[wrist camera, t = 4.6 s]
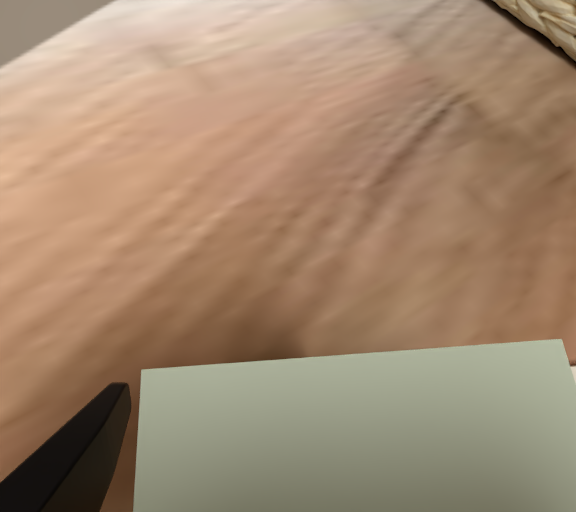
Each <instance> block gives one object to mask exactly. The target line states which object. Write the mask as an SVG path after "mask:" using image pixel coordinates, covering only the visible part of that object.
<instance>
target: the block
mask: <svg viewBox="0 0 576 512" xmlns="http://www.w3.org/2000/svg"><path fill="white" fill-rule="evenodd" d="M133 512H576V383H575V380H574V377H573V374H572V370H571V367H570V364H569V361H568V358H567V355H566V351H565V348H564V345H563V342H562V339H554V340H540V341H527V342H513V343H499V344H485V345H472V346H458V347H444V348H431V349H417V350H403V351H389V352H376V353H362V354H348V355H335V356H321V357H307V358H294V359H280V360H266V361H252V362H239V363H225V364H211V365H198V366H184V367H170V368H156V369H143V370H142V371H141V388H140V404H139V421H138V438H137V455H136V472H135V488H134V505H133Z"/></svg>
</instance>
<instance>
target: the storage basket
mask: <svg viewBox="0 0 576 512" xmlns="http://www.w3.org/2000/svg"><path fill="white" fill-rule="evenodd" d="M492 1H494V2H496V3H497V4H498V5H499V6H500V7H501V8H502V9H506V10H508V11H509V12H510V13H511V14H512V15H514V16H515V17H516V18H518V19H519V20H520V21H521V22H523V23H524V24H525V25H527V26H529V27H531V28H533V29H536V30H537V31H539V32H540V33H542V34H543V35H545V36H546V37H547V38H549V39H550V40H551V42H552V43H553V44H554V45H555V46H556V47H559V46H560V47H562V48H563V50H564V51H565V52H566V54H567V55H569V56H570V57H571V58H572V59H573V60H574V61H576V0H492Z"/></svg>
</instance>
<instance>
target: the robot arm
mask: <svg viewBox="0 0 576 512" xmlns="http://www.w3.org/2000/svg"><path fill="white" fill-rule="evenodd" d="M130 412H131V398H130V391H129V385H128V383H125V382H113V383H111V384H109V385H108V386H107V387H106V388H105V389H104V390H102V391H101V392H100V393H99V394H98V395H97V396H96V397H95V398H94V399H92V400H91V401H90V402H89V403H88V404H87V405H86V406H85V407H84V408H82V409H81V410H80V411H79V412H78V413H77V414H76V415H75V416H74V417H72V418H71V419H70V420H69V421H68V422H67V423H66V424H65V425H64V426H62V427H61V428H60V429H59V430H58V431H57V432H56V433H55V434H54V435H52V436H51V437H50V438H49V439H48V440H47V441H46V442H45V443H44V444H42V445H41V446H40V447H39V448H38V449H37V450H36V451H35V452H34V453H32V454H31V455H30V456H29V457H28V458H27V459H26V460H25V461H24V462H22V463H21V464H20V465H19V466H18V467H17V468H16V469H15V470H14V471H12V472H11V473H10V474H9V475H8V476H7V477H6V478H5V479H4V480H2V481H1V482H0V512H99V511H100V509H101V506H102V504H103V501H104V498H105V496H106V493H107V490H108V488H109V485H110V483H111V480H112V477H113V474H114V471H115V468H116V464H117V461H118V457H119V453H120V449H121V446H122V442H123V438H124V434H125V431H126V427H127V423H128V419H129V416H130Z"/></svg>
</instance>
